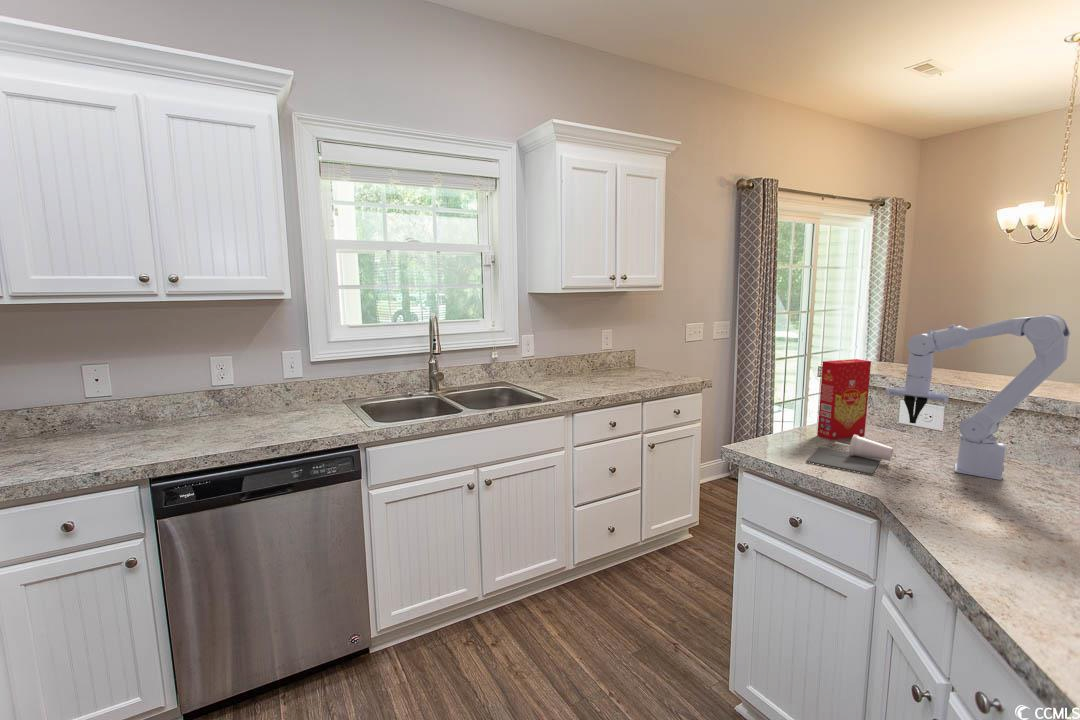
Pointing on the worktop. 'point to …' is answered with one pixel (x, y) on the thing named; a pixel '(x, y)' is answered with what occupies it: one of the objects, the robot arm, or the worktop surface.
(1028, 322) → the robot arm
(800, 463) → the worktop surface
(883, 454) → the smoothie
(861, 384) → the food packaging
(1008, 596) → the worktop surface
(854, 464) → the mat
